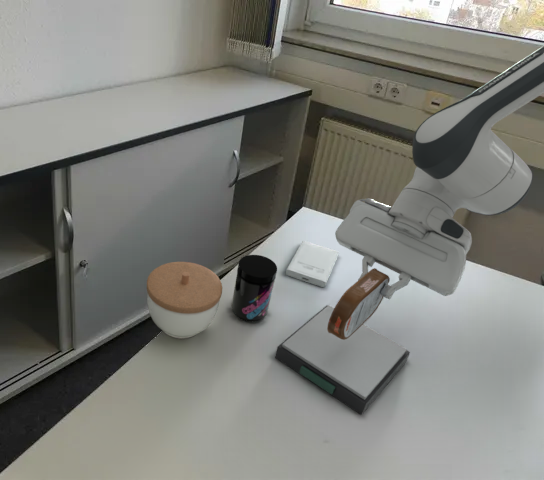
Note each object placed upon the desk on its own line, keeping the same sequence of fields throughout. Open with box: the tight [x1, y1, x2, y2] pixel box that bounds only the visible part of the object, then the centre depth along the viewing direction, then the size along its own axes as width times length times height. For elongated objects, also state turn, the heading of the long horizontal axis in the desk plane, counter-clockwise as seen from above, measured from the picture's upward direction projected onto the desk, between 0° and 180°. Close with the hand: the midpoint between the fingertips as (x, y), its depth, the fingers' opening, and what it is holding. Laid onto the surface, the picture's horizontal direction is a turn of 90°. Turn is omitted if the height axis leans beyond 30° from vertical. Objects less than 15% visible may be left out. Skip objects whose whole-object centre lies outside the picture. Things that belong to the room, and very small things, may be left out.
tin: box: [327, 267, 391, 340], centre depth 84 cm, size 15×3×8 cm, turn 137°
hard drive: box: [285, 240, 340, 288], centre depth 113 cm, size 2×8×12 cm
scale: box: [274, 304, 411, 415], centre depth 90 cm, size 16×16×3 cm
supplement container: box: [230, 254, 278, 323], centre depth 96 cm, size 7×7×10 cm
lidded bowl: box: [146, 261, 223, 340], centre depth 92 cm, size 13×13×11 cm
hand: (373, 290), depth 87 cm, fingers closed on tin, 2 cm apart
